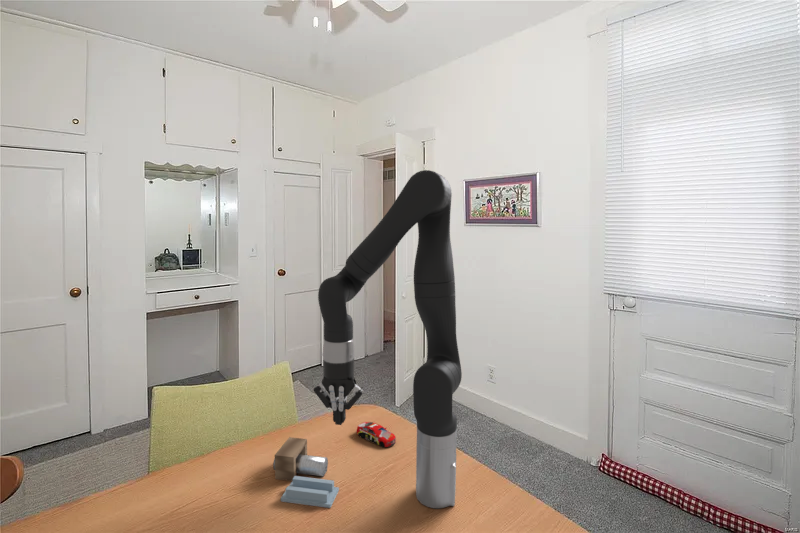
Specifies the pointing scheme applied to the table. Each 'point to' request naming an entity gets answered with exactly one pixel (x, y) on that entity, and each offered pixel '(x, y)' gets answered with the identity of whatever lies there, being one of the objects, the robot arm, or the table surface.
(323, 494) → the cradle
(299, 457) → the axle
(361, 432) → the race car
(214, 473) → the table surface
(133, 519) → the table surface
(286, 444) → the brown bridge block
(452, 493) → the robot arm
